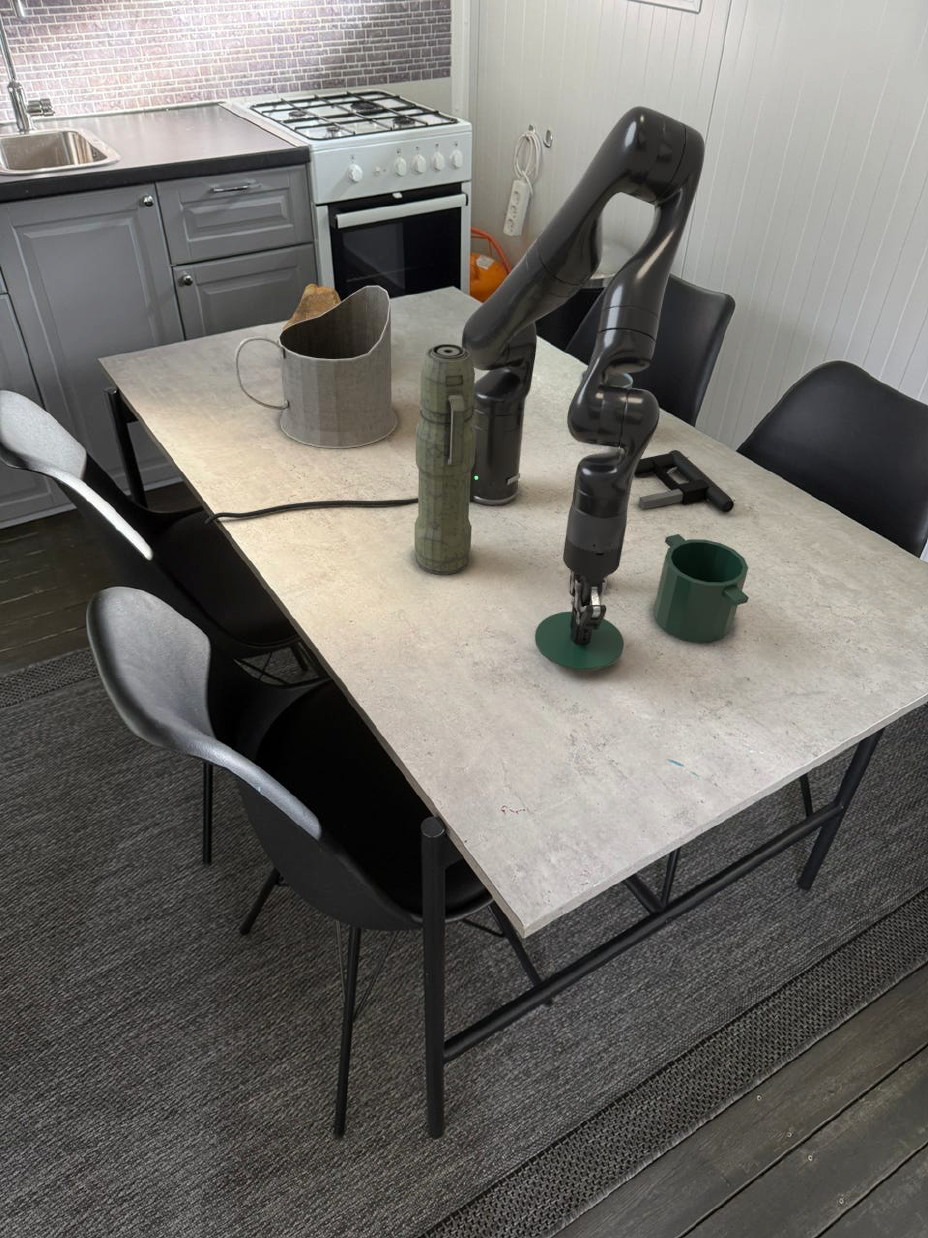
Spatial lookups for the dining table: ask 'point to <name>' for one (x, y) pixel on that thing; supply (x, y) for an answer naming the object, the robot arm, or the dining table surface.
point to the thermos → (445, 460)
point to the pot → (699, 589)
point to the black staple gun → (685, 493)
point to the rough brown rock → (314, 303)
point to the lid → (562, 650)
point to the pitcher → (337, 373)
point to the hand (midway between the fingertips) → (579, 635)
